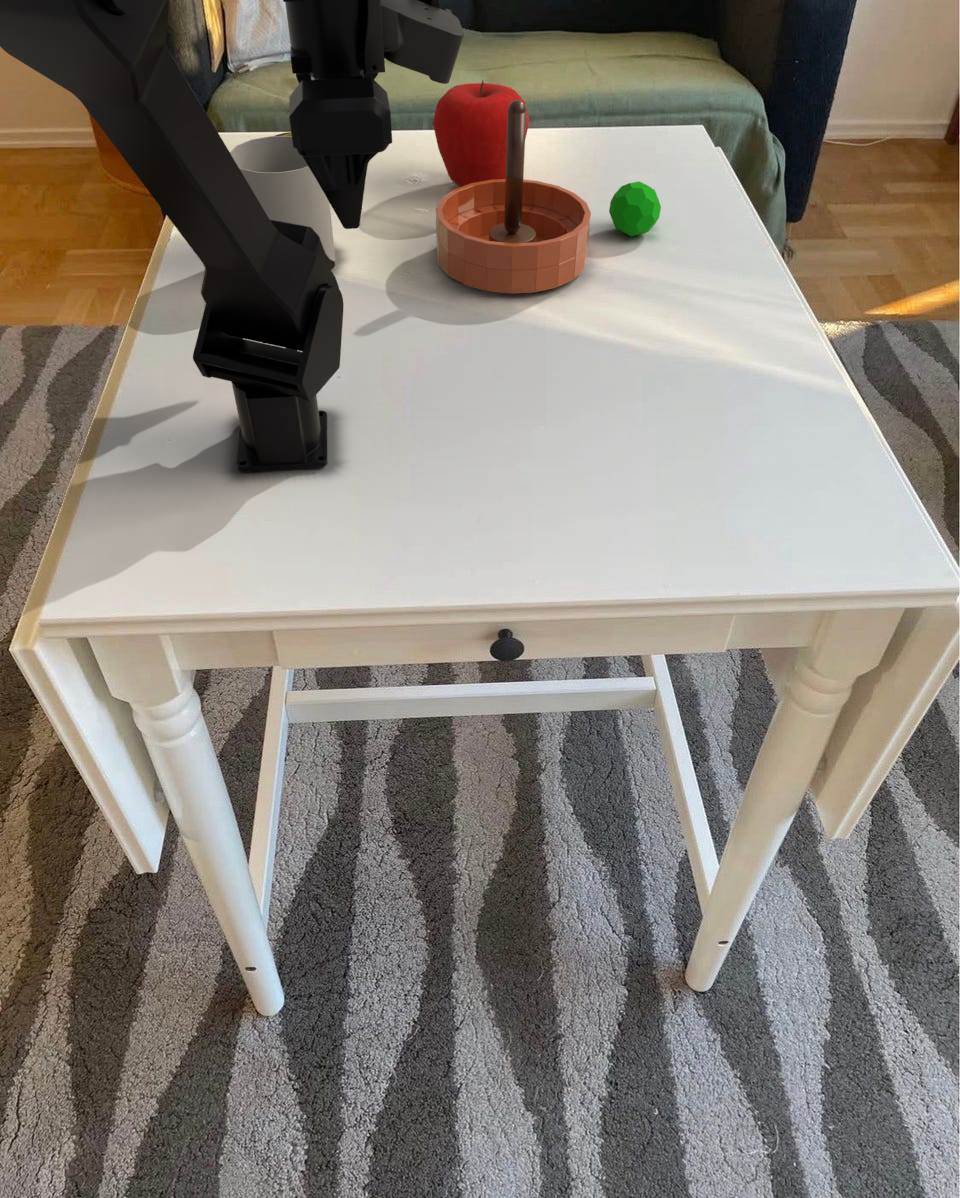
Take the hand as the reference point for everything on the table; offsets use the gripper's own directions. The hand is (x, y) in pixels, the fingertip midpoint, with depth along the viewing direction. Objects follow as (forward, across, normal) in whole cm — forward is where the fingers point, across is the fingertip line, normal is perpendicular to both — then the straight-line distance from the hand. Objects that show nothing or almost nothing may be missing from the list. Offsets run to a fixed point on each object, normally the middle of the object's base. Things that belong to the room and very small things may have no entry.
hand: (349, 199), depth 71 cm
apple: (+14, +31, -14) cm, 37 cm away
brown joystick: (+13, +14, -15) cm, 24 cm away
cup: (+13, +17, +6) cm, 22 cm away
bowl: (+13, +14, -15) cm, 25 cm away
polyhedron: (+14, +19, -28) cm, 36 cm away
